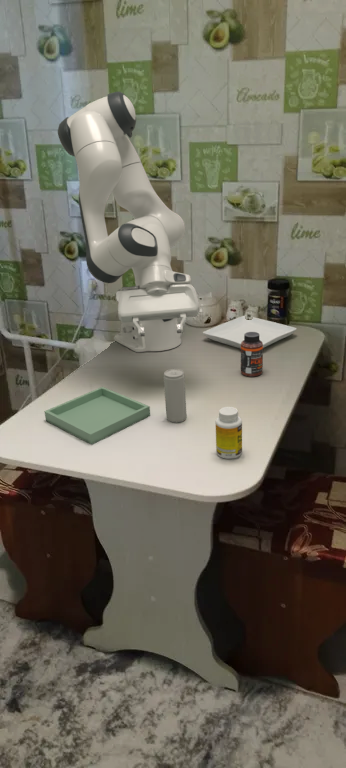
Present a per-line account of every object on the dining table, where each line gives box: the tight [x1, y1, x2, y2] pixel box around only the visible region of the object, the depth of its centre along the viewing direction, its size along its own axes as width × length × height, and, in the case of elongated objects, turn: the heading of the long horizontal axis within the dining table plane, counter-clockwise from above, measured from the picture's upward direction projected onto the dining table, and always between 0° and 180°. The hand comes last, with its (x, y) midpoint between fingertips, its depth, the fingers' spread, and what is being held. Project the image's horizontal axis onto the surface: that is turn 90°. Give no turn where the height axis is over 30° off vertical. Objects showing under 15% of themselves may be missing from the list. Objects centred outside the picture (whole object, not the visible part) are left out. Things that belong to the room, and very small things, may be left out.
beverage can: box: [163, 368, 187, 424], centre depth 152 cm, size 5×5×12 cm
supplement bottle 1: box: [215, 406, 243, 460], centre depth 137 cm, size 6×6×10 cm
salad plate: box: [202, 315, 297, 349], centre depth 199 cm, size 21×21×3 cm
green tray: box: [44, 386, 151, 445], centre depth 156 cm, size 18×18×3 cm
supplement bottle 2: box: [240, 332, 264, 378], centre depth 174 cm, size 6×6×11 cm
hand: (160, 333), depth 158 cm, fingers open, 8 cm apart
